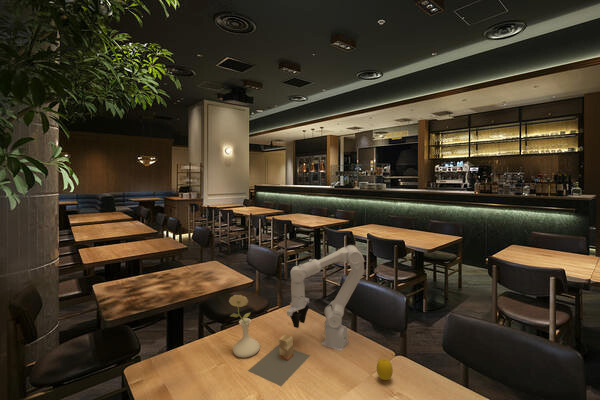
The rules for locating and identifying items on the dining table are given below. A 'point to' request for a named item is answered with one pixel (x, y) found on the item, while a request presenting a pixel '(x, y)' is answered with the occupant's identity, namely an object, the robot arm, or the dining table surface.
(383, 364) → the lemon
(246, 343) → the flower in vase
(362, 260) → the robot arm
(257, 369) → the rubber mat
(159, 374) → the dining table surface
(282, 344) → the maple block
